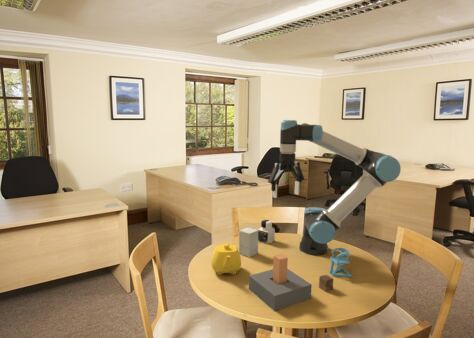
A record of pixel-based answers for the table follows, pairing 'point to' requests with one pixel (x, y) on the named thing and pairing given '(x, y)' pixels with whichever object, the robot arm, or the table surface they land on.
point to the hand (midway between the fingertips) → (285, 195)
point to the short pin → (326, 283)
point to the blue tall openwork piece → (339, 262)
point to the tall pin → (280, 269)
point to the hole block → (279, 289)
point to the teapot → (226, 259)
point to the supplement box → (248, 242)
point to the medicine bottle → (266, 232)
